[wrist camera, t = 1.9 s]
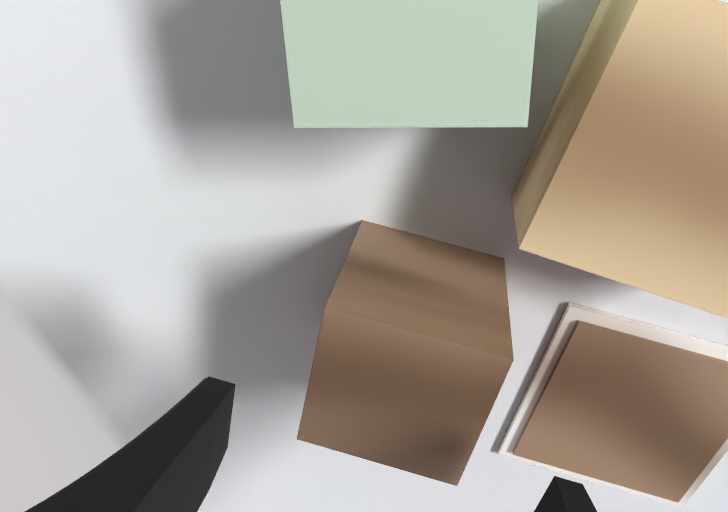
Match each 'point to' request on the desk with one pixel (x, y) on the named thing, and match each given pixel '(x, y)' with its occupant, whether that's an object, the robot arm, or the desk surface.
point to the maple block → (638, 154)
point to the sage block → (409, 62)
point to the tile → (625, 407)
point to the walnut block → (409, 353)
